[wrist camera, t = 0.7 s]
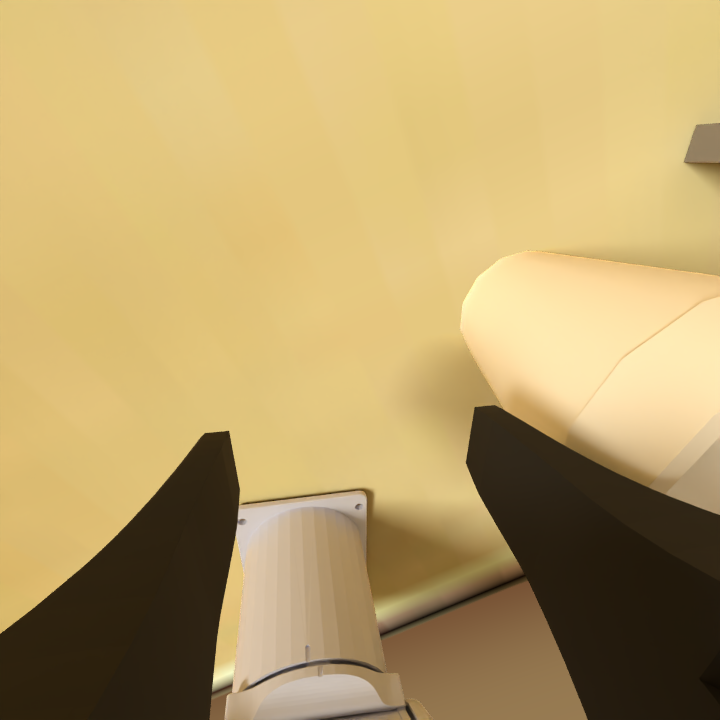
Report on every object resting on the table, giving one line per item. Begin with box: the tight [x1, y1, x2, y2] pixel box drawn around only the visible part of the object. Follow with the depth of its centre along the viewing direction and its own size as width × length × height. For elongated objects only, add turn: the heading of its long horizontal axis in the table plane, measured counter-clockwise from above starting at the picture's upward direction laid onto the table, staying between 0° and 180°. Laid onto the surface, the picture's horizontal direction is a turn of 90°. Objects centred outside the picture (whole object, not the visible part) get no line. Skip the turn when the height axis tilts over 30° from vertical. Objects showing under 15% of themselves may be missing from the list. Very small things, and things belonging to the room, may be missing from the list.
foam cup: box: [460, 250, 720, 515], centre depth 15 cm, size 10×9×13 cm
